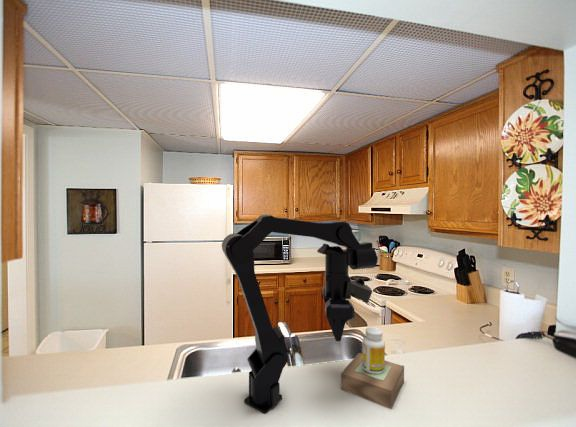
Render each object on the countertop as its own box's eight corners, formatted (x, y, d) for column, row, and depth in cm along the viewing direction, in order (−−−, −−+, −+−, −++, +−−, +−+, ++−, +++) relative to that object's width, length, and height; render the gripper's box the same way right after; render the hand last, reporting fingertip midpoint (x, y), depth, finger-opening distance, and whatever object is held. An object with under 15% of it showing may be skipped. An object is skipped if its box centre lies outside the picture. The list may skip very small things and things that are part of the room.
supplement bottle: (357, 368, 71) (358, 330, 71) (368, 360, 75) (369, 324, 75) (378, 377, 68) (378, 337, 68) (388, 368, 72) (388, 330, 71)
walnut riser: (341, 389, 70) (341, 372, 70) (358, 366, 80) (358, 352, 80) (391, 408, 63) (391, 390, 63) (403, 381, 73) (404, 365, 73)
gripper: (378, 281, 62) (377, 352, 62) (362, 264, 80) (362, 319, 81) (326, 279, 63) (326, 350, 63) (322, 263, 81) (322, 317, 82)
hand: (336, 332), depth 72 cm, fingers open, 9 cm apart
